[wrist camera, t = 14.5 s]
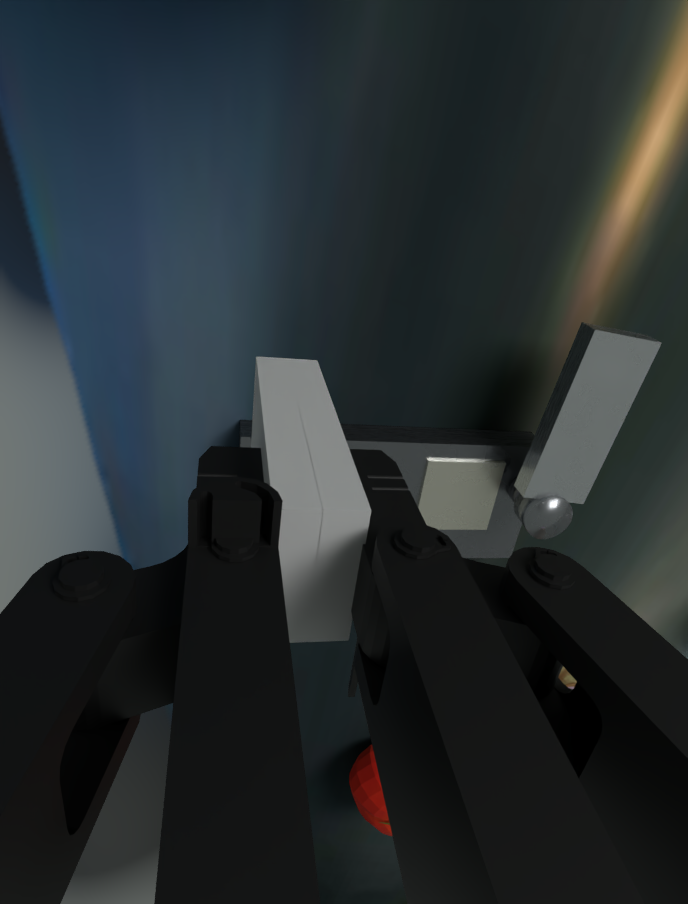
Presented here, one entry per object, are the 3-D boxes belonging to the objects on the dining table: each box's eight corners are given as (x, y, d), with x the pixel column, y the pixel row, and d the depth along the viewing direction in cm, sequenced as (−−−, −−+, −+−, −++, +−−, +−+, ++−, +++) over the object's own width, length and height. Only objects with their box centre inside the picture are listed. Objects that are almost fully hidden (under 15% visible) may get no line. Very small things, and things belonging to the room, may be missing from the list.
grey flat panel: (644, 334, 44) (666, 345, 42) (555, 524, 52) (569, 541, 50) (580, 321, 43) (599, 331, 41) (498, 518, 51) (510, 536, 48)
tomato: (339, 788, 75) (351, 863, 68) (345, 724, 69) (359, 798, 62) (442, 775, 78) (465, 846, 70) (457, 711, 72) (483, 781, 64)
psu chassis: (240, 419, 48) (241, 450, 44) (536, 432, 54) (564, 460, 49) (234, 538, 54) (234, 576, 49) (503, 538, 59) (525, 572, 55)
